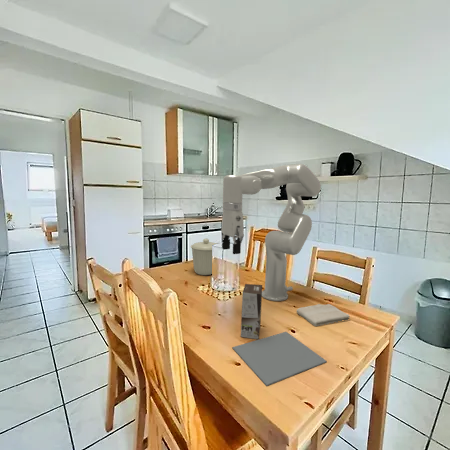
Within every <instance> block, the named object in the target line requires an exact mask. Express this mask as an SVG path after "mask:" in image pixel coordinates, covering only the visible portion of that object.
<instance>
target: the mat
mask: <svg viewBox="0 0 450 450" xmlns="http://www.w3.org/2000/svg"><path fill="white" fill-rule="evenodd" d="M232 350H234V352H235V353H236V354H237V355H238V356H239V358H241V360H242V361H243V362H244V363H245V365H247V367H248V368H249V369H250V370H251V371H252V372H253V373H254V374H255V376H257V377H258V378H259V380H260V381H261V382H262V383H263V384H264V386H266V387H269V386H271V385H273V384H275V383H278V382H280V381H282V380H286V379H288V378H291V377H293V376H296V375H298V374H301V373H303V372H306V371H308V370H311V369H313V368H317V367H319V366H321V365H323V363H324V364H326V363H327V360H326V359H324V357H321V356H320V355H319V354H318V353H317V352H315V351H313V350H312V349H311V348H309V346H307V345H305V344H304V343H303V342H302V341H300V340H298V339H297V338H296V337H294V336H293V335H292V334H290V333H288V332H287V331H282V332H280V333H277V334H273V335H270V336H266V337H262V338H260V339H259V338H258V339H254V340H252V341H250V342H249V341H248V342H246V343H243V344H239V345H235V346H232Z"/></svg>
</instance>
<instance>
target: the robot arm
mask: <svg viewBox="0 0 450 450" xmlns="http://www.w3.org/2000/svg"><path fill="white" fill-rule="evenodd" d="M222 181H223V182H222V183H223V184H222V185H223V186H222V220H221V221H222V222H221V228H220V231H221V236H222V237H221V239H222V247H221V248H222V250H230V249H231V239H230V238H232V241H233V243H232V255H238V254H239V255H240V254H241V247H242V246H241V245H242V242H243V240H244V236H245V234H244V233H245V232H244V226H245V225H244V213H243V195H249V196H251V195H256V194H258V193H259V192H260V191H261V190H267V189H268V190H269V189H274V188H275V189H276V188H277V187H281V186H284V185H286V187H285V190H286V195H287V204H286V206H285V208H284V210H283V212H282V214H281V216H280V217H279V220H278V222H277V228H278V229H279V230H272V231H271V230H270V231H269V232H268V233H267V234H266V235H265V237H264V246H265V251H266V252H265V253H266V258H265V259H266V260H265V278H264V279H265V280H264V290H263V289H262V298H264V299H265V300H268V301H272V302H282V301H286V300H288V298H289V294H288V292H290V291H293V289H294V288H293V287H292V286H287V285H286V279H287V261H288V260H287V257H286V255H289V256H296V255H297V254H299V253H300V252H301V250H302V249H303V247H304V245H305V243H306V241H307V239H308V236H310V233H311V230H312V226H313V221H312V218H311V217H310V216H309V215H308V214H305V213H304V211H305V205H304V204H305V203H304V202H303V200H302V197H315V196H318V195H319V193H320V191H321V189H322V187H321V186H322V185H321V181H320V180H319V178H318V177H317V176H316V175H315V174H314V173H313V171H312V170H311V169H310V168H309V167H308V166H306V165H305V164H303V163H295V164H284V165H280V166H275V167H271V168H266V169H261V170H258V171H253V172H246V173H243V174H238V175H237V174H227V175H224V177H223V180H222Z"/></svg>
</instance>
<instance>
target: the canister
mask: <svg viewBox="0 0 450 450" xmlns="http://www.w3.org/2000/svg"><path fill="white" fill-rule="evenodd" d="M214 244H218V243H216V242H214V241H213V242H211V241H210V239H209V238H204V239H203V240H202V241H199V242H195V243H192V244H191V245H190V248H191V251H192V263H193V270H194V272H195V273H196V274H197V275H199V276H211V274H212V245H214ZM212 275H213V274H212Z"/></svg>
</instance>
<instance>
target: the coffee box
mask: <svg viewBox="0 0 450 450" xmlns="http://www.w3.org/2000/svg"><path fill="white" fill-rule="evenodd" d="M262 291H263V285H261V284H255V283H254V284H253V283H251V284H249V283H245V285H244V286H243V289H242V296H241V298H242V301H241V323H240V337H241V338H248V339H252V340H253V339H254V340H259V338H260V331H261V317H262V298H263V297H262Z"/></svg>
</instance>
